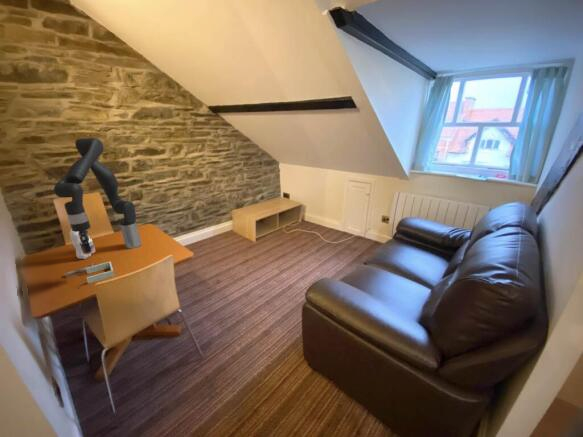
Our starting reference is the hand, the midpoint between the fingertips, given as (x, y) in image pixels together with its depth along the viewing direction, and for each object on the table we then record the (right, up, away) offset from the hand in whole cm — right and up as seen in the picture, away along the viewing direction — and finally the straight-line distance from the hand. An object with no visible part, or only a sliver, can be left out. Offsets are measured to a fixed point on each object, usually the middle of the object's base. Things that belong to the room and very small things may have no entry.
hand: (88, 249), depth 132 cm
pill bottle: (0, -2, +1) cm, 2 cm away
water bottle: (-22, -9, +24) cm, 34 cm away
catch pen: (+1, -16, +7) cm, 17 cm away
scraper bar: (-12, -15, +8) cm, 21 cm away
